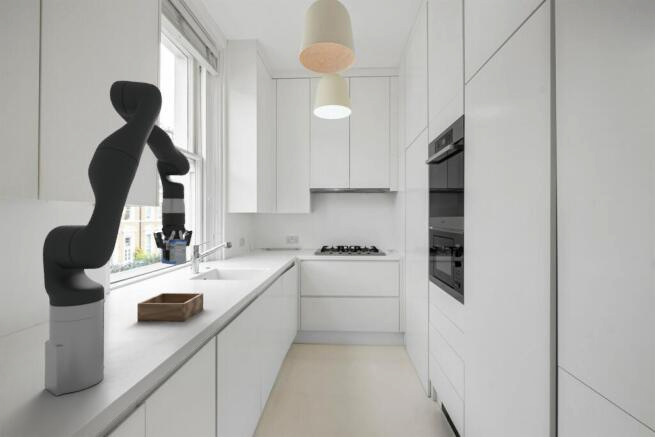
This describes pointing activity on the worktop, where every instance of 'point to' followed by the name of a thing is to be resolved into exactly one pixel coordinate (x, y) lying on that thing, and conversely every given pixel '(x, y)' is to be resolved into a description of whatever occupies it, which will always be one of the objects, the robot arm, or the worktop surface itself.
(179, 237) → the robot arm
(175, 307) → the storage box
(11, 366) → the worktop surface
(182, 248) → the medicine box
